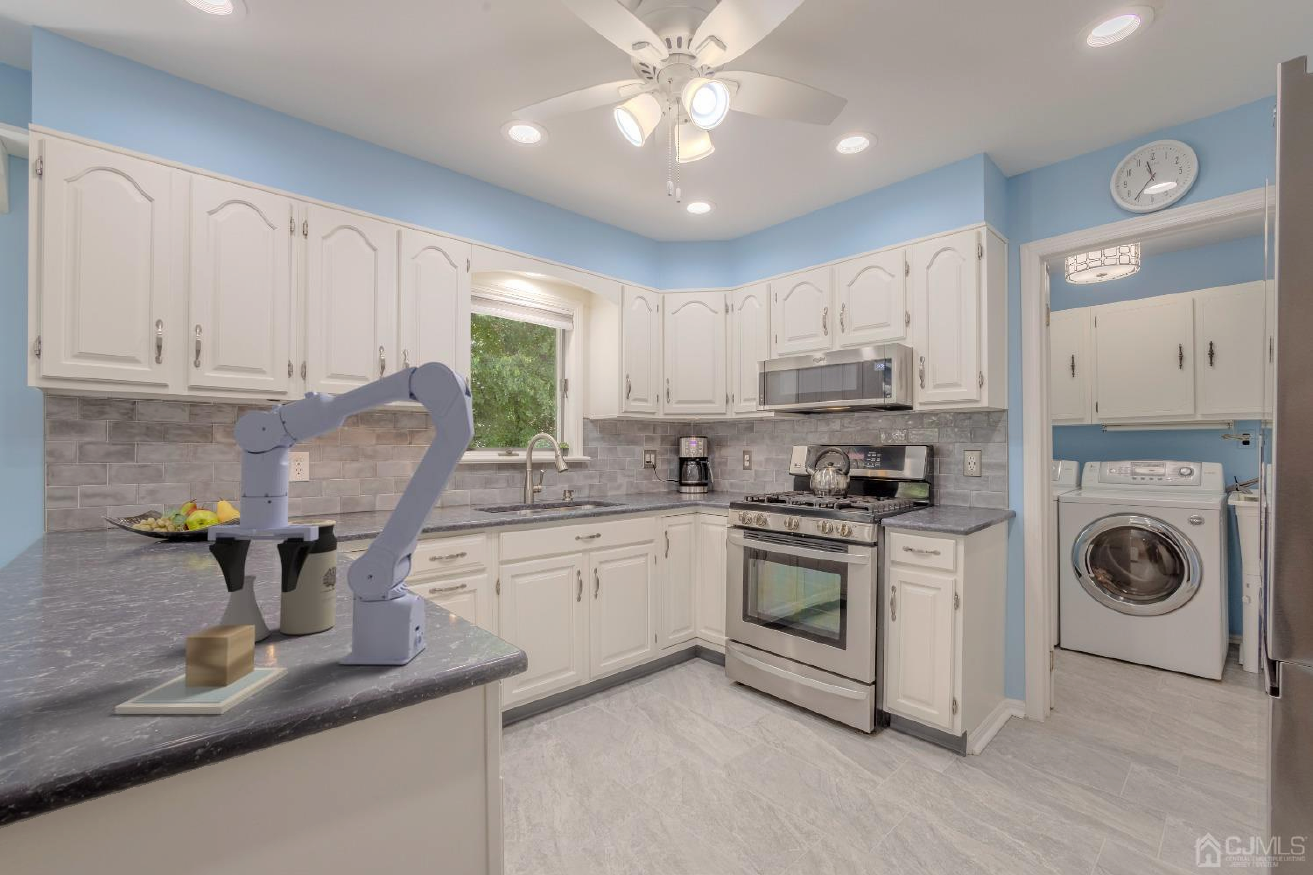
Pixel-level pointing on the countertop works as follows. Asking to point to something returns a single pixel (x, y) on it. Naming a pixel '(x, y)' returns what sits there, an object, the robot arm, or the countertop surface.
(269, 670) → the picture frame
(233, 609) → the flask
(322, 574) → the travel mug
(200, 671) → the oak block
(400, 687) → the countertop surface
